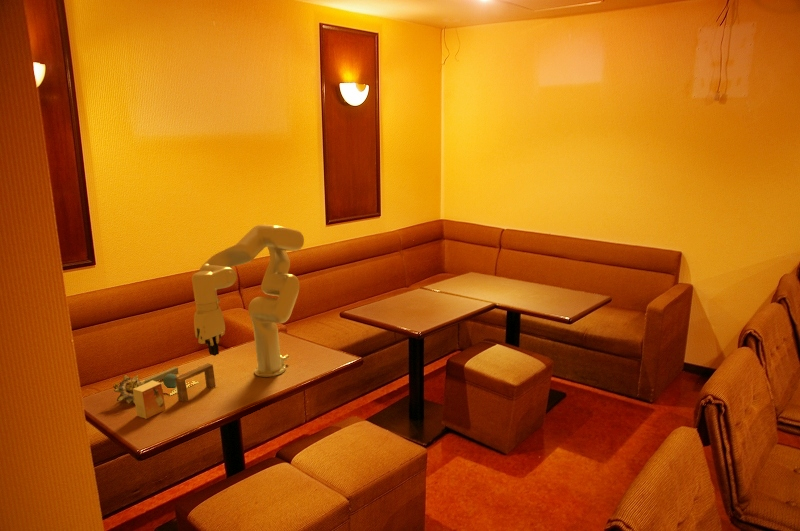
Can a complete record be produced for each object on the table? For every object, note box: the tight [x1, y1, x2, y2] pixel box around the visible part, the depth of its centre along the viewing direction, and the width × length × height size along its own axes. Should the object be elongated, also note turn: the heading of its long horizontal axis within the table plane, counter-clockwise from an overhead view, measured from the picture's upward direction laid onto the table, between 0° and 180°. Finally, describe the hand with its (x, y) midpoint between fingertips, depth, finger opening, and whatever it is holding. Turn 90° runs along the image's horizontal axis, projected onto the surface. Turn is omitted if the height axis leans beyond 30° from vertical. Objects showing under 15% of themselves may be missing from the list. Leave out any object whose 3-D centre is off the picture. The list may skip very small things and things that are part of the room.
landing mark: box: [169, 380, 200, 397], centre depth 221 cm, size 13×13×1 cm
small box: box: [133, 380, 166, 420], centre depth 199 cm, size 8×6×10 cm
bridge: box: [175, 362, 216, 403], centre depth 213 cm, size 3×14×9 cm, turn 146°
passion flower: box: [112, 374, 145, 405], centre depth 210 cm, size 11×11×12 cm
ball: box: [162, 374, 178, 388], centre depth 219 cm, size 6×6×6 cm
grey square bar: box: [143, 366, 179, 384], centre depth 226 cm, size 16×2×2 cm, turn 146°
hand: (214, 354), depth 202 cm, fingers closed
